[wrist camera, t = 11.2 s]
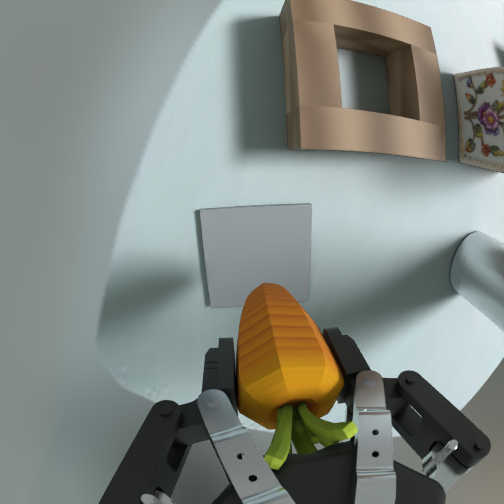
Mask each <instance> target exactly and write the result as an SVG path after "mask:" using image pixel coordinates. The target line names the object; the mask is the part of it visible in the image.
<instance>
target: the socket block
mask: <svg viewBox="0 0 504 504" xmlns="http://www.w3.org/2000/svg"><path fill="white" fill-rule="evenodd" d="M279 17H280V28H281V39H282V52H283V66H284V81H285V98H286V118H287V143H288V149H306V150H338V151H355V152H368V153H380V154H390V155H399V156H407V157H414V158H423V159H430V160H437V161H444V162H446V137H445V115H444V102H443V93H442V84H441V77H440V71H439V65H438V59H437V54H436V49H435V44H434V40H433V36H432V32H431V28H430V27H428V26H426V25H424V24H422V23H419V22H417V21H414V20H412V19H409V18H407V17H404V16H401V15H399V14H396V13H393V12H390V11H387V10H384V9H380V8H377V7H374V6H370V5H367V4H363V3H359V2H355V1H351V0H285V2H284V5H283V7H282V10H281V13H280V15H279ZM337 48H344V49H349V50H355V51H360V52H364V53H369V54H373V55H378V56H382V57H384V58H385V65H386V72H387V81H388V91H389V104H390V115H389V114H383V113H377V112H370V111H363V110H356V109H347V108H342V99H341V85H340V74H339V64H338V55H337Z"/></svg>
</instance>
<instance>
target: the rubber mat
mask: <svg viewBox="0 0 504 504" xmlns="http://www.w3.org/2000/svg"><path fill="white" fill-rule="evenodd" d="M200 219H201V229H202V239H203V249H204V258H205V267H206V275H207V283H208V291H209V299H210V306H211V308H223V307H241V306H244V304H245V301H246V298H247V297H248V295H249V294H250V293H251V291H253V290H254V289H255V288H257V287H258V286H259V285H261V284H262V283H273V284H278V285H280V286H282V287H284V288H286V290H287V291H288V292H289V293H290V294H291V295H292V296H293V297H294V298H295V299H296V301H297V302H304V301H308V294H309V277H310V255H311V220H312V204H310V203H306V204H277V205H255V206H237V207H221V208H207V209H200Z"/></svg>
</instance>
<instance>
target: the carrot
mask: <svg viewBox="0 0 504 504" xmlns="http://www.w3.org/2000/svg"><path fill="white" fill-rule="evenodd" d="M343 386H344V377H343V375H342V372H341V370H340V367H339V365H338V363H337V361H336V359H335V357H334V355H333V353H332V351H331V349H330V347H329V345H328V344H327V342H326V340H325V338H324V337H323V335H322V333H321V331H320V330H319V328H318V326H317V325H316V324H315V322H314V321H313V320H312V319H311V317H310V316H309V315H308V314H307V312H306V311H305V310H304V309H303V308H302V306H301V305H300V304H299V303H298V302H297V301H296V299H295V298H294V297H293V296H292V295H291V294H290V293H289V292H288V291H287V290H286V288H284V287H282V286H280V285H278V284H273V283H262V284H261V285H259V286H258V287H257V288H255V289H254V290H253V291H251V293H250V294H249V295H248V297H247V298H246V301H245V304H244V307H243V310H242V315H241V319H240V325H239V333H238V342H237V353H236V401H237V408H238V410H239V412H240V413H241V414H243V415H244V416H246V417H248V418H249V419H251V420H253V421H255V422H256V423H258V424H260V425H262V426H263V427H265V428H267V429H276V430H275V433H274V437H273V439H272V442H271V445H270V447H269V449H268V451H267V452H266V454H265V456H264V460H265V461H266V462H267V464H268V465H269V467H270V468H272V469H276V470H278V469H279V468H280V467H281V465H282V464H283V463H284V462H285V461H286V459H287V456H288V453H289V454H292V446H291V440H292V442H293V444H294V447H295V449H296V451H297V453H298V454H311V453H314V452H316V451H318V450H317V449H316V447H315V446H314V444H317V443H320V444H322V445H323V446H324V447H327V446H330V445H333V444H338V442H339V441H341V440H346V439H349V438H351V437H352V436H354V435H355V434H356V433H357V431H358V429H357V425H356V424H355V423H353V422H352V421H350V422H340V423H332V422H328V421H325V420H322V419H320V418H321V417H323V416H325V415H326V414H328V413H329V412H330V410H331V409H332V407H333V405H334V403H335V401H336V400H337V398H338V396H339V394H340V392H341V390H342V388H343Z"/></svg>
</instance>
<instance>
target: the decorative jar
mask: <svg viewBox="0 0 504 504" xmlns="http://www.w3.org/2000/svg"><path fill="white" fill-rule="evenodd" d="M454 80H455V87H456V95H457V104H458V118H459V160H460V162H461V163H464V164H468V165H472V166H476V167H480V168H485V169H489V170H494V171H497V172H501V173H504V67H493V68H487V69H479V70H473V71H469V72H464V73H458V74H455V75H454Z"/></svg>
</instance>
